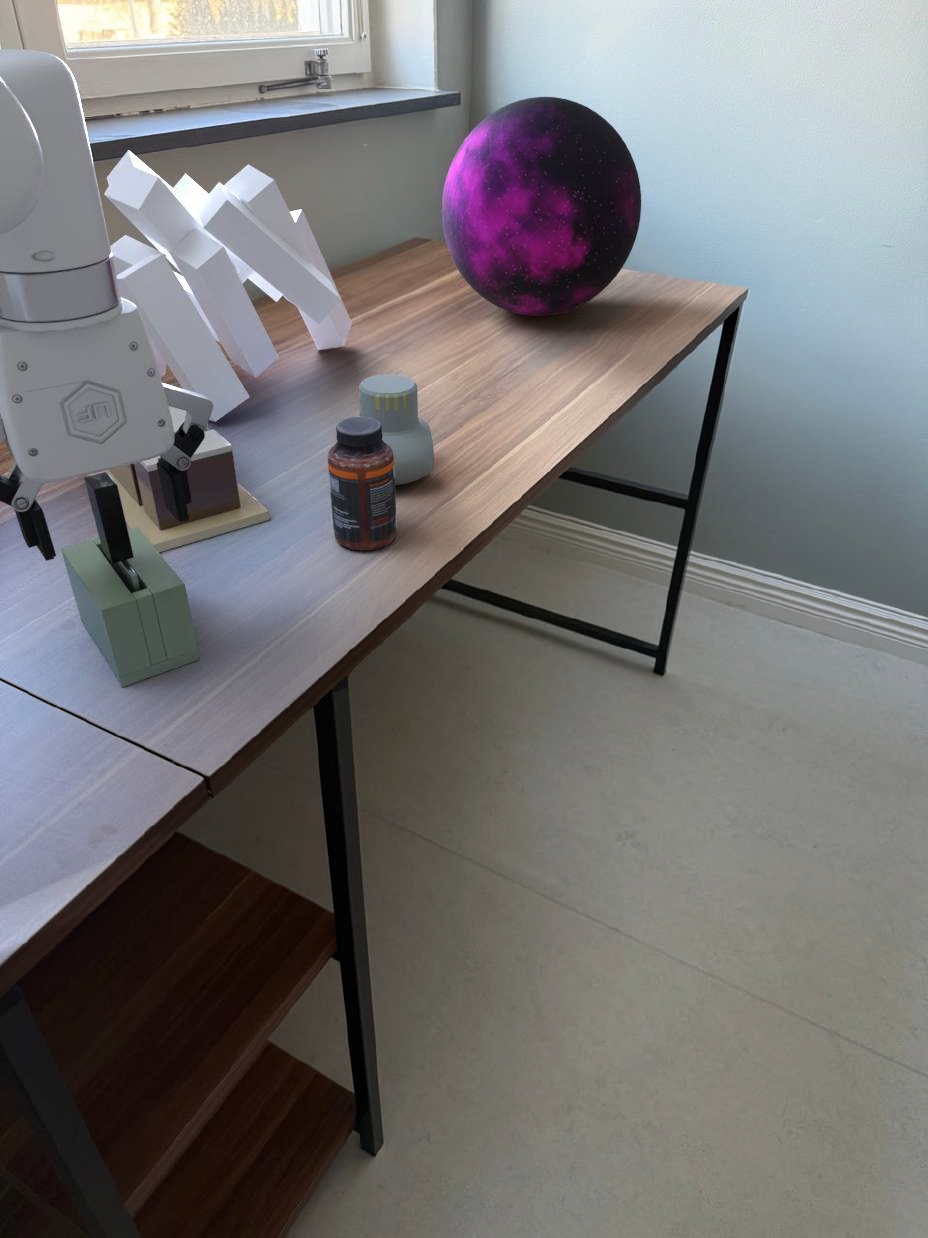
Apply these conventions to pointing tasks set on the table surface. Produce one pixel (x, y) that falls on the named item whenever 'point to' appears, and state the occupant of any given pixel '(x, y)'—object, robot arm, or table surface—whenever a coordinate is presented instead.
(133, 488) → the cake
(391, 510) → the supplement bottle
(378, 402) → the air freshener
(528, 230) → the purple galaxy ball
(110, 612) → the knife block
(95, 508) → the knife
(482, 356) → the table surface
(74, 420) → the robot arm
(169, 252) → the pile of blocks
